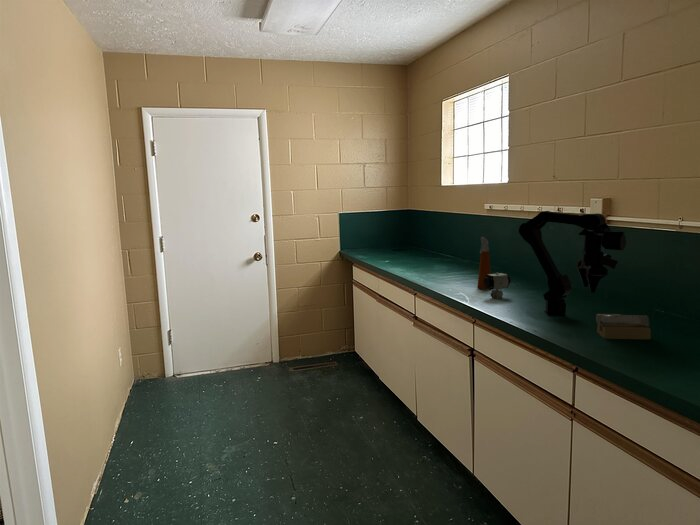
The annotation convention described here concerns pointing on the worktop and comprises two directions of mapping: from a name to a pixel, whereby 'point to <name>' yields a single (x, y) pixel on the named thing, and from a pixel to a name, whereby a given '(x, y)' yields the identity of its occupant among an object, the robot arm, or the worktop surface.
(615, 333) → the v block
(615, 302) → the worktop surface
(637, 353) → the worktop surface
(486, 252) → the spray bottle
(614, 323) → the axle
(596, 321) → the bore beam
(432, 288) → the worktop surface
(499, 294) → the pneumatic valve
